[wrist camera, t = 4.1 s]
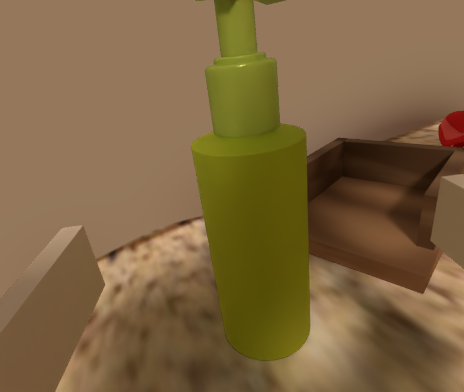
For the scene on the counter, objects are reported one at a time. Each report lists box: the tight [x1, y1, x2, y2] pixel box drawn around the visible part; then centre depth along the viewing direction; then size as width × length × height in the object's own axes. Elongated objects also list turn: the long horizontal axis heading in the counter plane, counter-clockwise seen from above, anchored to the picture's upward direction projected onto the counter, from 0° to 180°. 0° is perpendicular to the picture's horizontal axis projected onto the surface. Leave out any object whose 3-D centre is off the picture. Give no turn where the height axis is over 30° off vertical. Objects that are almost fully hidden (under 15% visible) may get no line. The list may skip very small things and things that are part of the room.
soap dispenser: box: [191, 0, 310, 360], centre depth 18 cm, size 6×7×20 cm
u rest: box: [307, 138, 464, 294], centre depth 31 cm, size 18×14×6 cm
